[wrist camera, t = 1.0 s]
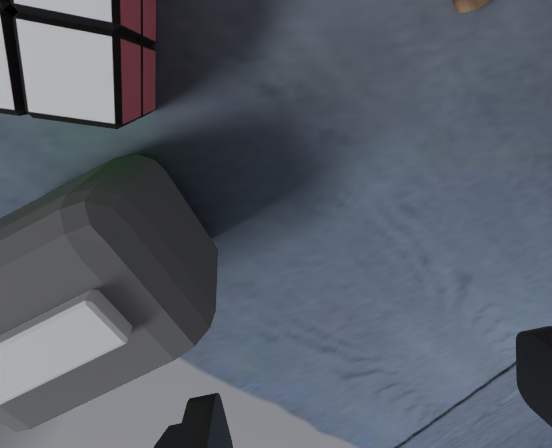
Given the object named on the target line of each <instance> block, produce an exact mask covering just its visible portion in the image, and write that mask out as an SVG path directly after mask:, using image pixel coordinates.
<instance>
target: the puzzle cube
mask: <svg viewBox="0 0 552 448" xmlns="http://www.w3.org/2000/svg"><path fill="white" fill-rule="evenodd" d="M155 42H156V0H0V113H3V114H10V115H18V116H20V115H26V114H29V115H30V116H32V117H33V118H40V119H47V120H55V121H62V122H69V123H76V124H84V125H91V126H98V127H106V128H113V129H118V128H120V127H123V126H125V125H127V124H129V123H131V122H133V121H135V120H137V119H139V118H141V117H143V116H145V115H147V114H149V113H151V112H152V111H154V110H155V76H156V51H155V50H154V48H153V47H152V45H153V44H154V43H155Z"/></svg>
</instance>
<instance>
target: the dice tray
mask: <svg viewBox="0 0 552 448" xmlns="http://www.w3.org/2000/svg"><path fill="white" fill-rule="evenodd" d="M489 1H490V0H453V3H454V5H455V8H456V10H457V13H458V14H461V13H465V12H468V11H472V10H476V9H480V8H481V7H482V6H484V5H485V4H486V3H487V2H489Z"/></svg>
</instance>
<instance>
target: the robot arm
mask: <svg viewBox="0 0 552 448" xmlns="http://www.w3.org/2000/svg"><path fill="white" fill-rule="evenodd" d="M516 372H517V386H518V389H519V391H520V394H521V396H522V397H523V399H524V401H525V402H526V403H527V405H528V406H529V407H530V408H531V409H532V410H533V411H534V412H535V413H537V414H538V415H539V416H540V417H541V418H542V419H543V420H544V421H545V422H546V423H547V424H549V425H550V426H551V427H552V326H547V327H542V328H537V329H532V330H527V331H522V332H520V333H518V335H517V337H516ZM154 448H233V445H232V440H231V436H230V432H229V428H228V424H227V420H226V416H225V412H224V408H223V404H222V400H221V397H220V395H219V393H215V394H210V395H205V396H200V397H195V398H190V399H189V400H188V402H187V405H186V409H185V413H184V417H183V420H182V423H180V424H176V425H171V426H169V427H168V428H167V429H166V431H165V432H164V433H163V435H162V436H161V438H160V439H159V440H158V442H157V443H156V445H155V446H154Z"/></svg>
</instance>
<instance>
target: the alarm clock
mask: <svg viewBox="0 0 552 448" xmlns="http://www.w3.org/2000/svg"><path fill="white" fill-rule="evenodd" d="M217 259H218V249H217V248H216V246H215V244H214V243H213V241H212V240H211V238H210V237H209V235H208V234H207V232H206V231H205V229H204V228H203V226H202V225H201V223H200V222H199V220H198V219H197V217H196V216H195V214H194V213H193V211H192V210H191V208H190V207H189V205H188V204H187V202H186V201H185V199H184V198H183V196H182V195H181V193H180V191H179V190H178V188H177V187H176V185H175V184H174V182H173V181H172V179H171V178H170V176H169V175H168V173H167V172H166V170H165V169H164V168H163V167H162V166H161V165H160V164H159V163H158V162H157V161H156V160H155V159H151V158H148V157H144V156H141V155H138V154H132V155H127V156H122V157H117V158H114V159H112V160H110V161H108V162H106V163H105V164H103V165H101V166H99V167H97V168H95V169H93V170H91V171H89V172H88V173H86V174H84V175H82V176H80V177H78V178H76V179H74V180H72V181H71V182H69V183H67V184H65V185H63V186H61V187H59V188H57V189H56V190H54V191H52V192H50V193H48V194H46V195H44V196H42V197H40V198H39V199H37V200H35V201H33V202H31V203H29V204H27V205H25V206H23V207H22V208H20V209H18V210H16V211H14V212H12V213H10V214H8V215H6V216H5V217H3V218H1V219H0V422H2V423H3V424H5V425H6V426H8V427H9V428H11V429H12V430H14V431H16V432H17V431H22V430H27V429H31V428H33V427H36V426H37V425H40V424H42V423H44V422H46V421H48V420H50V419H52V418H54V417H57V416H59V415H61V414H63V413H65V412H67V411H69V410H71V409H73V408H75V407H77V406H80V405H82V404H84V403H86V402H88V401H90V400H92V399H94V398H96V397H98V396H100V395H102V394H105V393H107V392H109V391H111V390H113V389H115V388H117V387H119V386H121V385H123V384H126V383H128V382H130V381H132V380H134V379H136V378H138V377H140V376H142V375H144V374H146V373H149V372H151V371H152V370H155V369H157V368H159V367H161V366H163V365H165V364H167V363H169V362H171V361H173V360H175V359H177V358H178V357H180V356H181V355H182V354H184V353H185V352H187V351H188V350H190V349H191V348H193V347H194V346H195V345H196V344H197V343H198V341H199V340H200V339H201V338H202V336H203V335H204V334H205V333H206V332H207V330H208V329H209V328H210V326H211V323H212V320H213V317H214V314H215V311H216V286H217Z"/></svg>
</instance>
